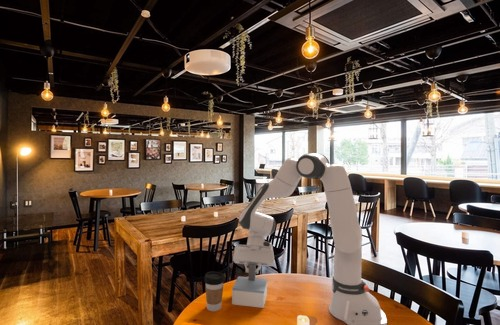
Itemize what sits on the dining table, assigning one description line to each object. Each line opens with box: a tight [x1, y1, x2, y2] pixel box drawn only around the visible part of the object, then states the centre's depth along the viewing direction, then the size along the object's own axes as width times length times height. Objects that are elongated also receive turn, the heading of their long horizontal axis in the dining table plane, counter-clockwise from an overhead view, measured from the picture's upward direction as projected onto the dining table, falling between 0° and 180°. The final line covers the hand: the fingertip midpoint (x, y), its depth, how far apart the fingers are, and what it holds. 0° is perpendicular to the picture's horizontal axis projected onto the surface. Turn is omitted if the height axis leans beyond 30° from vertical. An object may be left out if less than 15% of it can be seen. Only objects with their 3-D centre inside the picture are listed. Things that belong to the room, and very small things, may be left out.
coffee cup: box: [204, 271, 225, 312], centre depth 115 cm, size 8×8×15 cm
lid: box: [231, 264, 268, 293], centre depth 123 cm, size 14×12×9 cm
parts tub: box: [231, 282, 268, 309], centre depth 123 cm, size 14×12×7 cm
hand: (251, 272), depth 126 cm, fingers closed on lid, 3 cm apart
